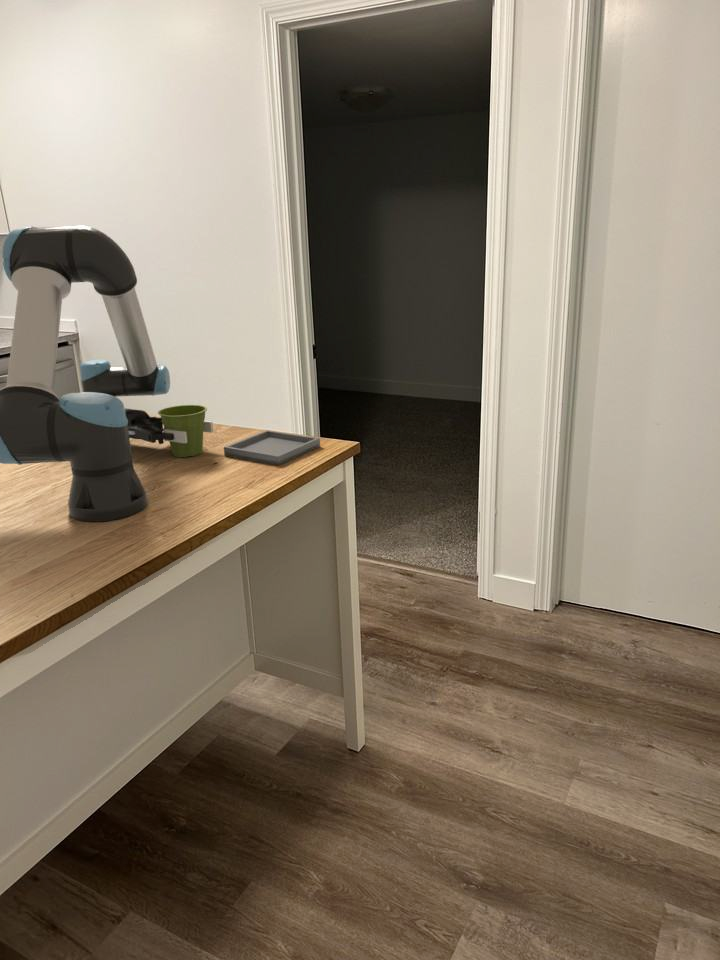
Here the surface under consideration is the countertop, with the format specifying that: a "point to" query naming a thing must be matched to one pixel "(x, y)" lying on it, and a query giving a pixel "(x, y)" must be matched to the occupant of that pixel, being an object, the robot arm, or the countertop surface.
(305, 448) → the tray
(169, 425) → the plant pot
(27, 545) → the countertop surface
